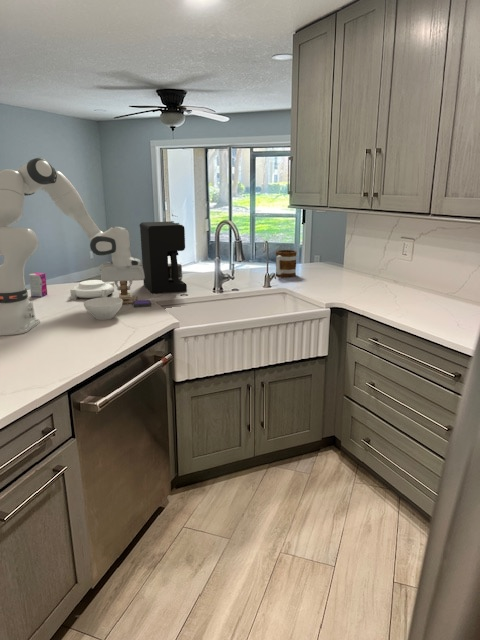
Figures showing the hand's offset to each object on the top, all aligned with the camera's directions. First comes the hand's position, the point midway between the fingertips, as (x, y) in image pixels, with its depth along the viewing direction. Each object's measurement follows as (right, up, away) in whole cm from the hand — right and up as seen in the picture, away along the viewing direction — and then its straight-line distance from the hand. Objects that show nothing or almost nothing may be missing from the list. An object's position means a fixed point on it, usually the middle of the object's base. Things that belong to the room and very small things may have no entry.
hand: (124, 289), depth 220 cm
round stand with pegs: (-19, -2, +15) cm, 25 cm away
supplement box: (-47, -2, +13) cm, 48 cm away
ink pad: (+10, -7, -4) cm, 13 cm away
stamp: (0, -3, +1) cm, 4 cm away
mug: (+83, +12, +61) cm, 104 cm away
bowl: (-2, -14, -24) cm, 28 cm away
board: (0, -6, +1) cm, 6 cm away
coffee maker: (+16, +2, +28) cm, 32 cm away
